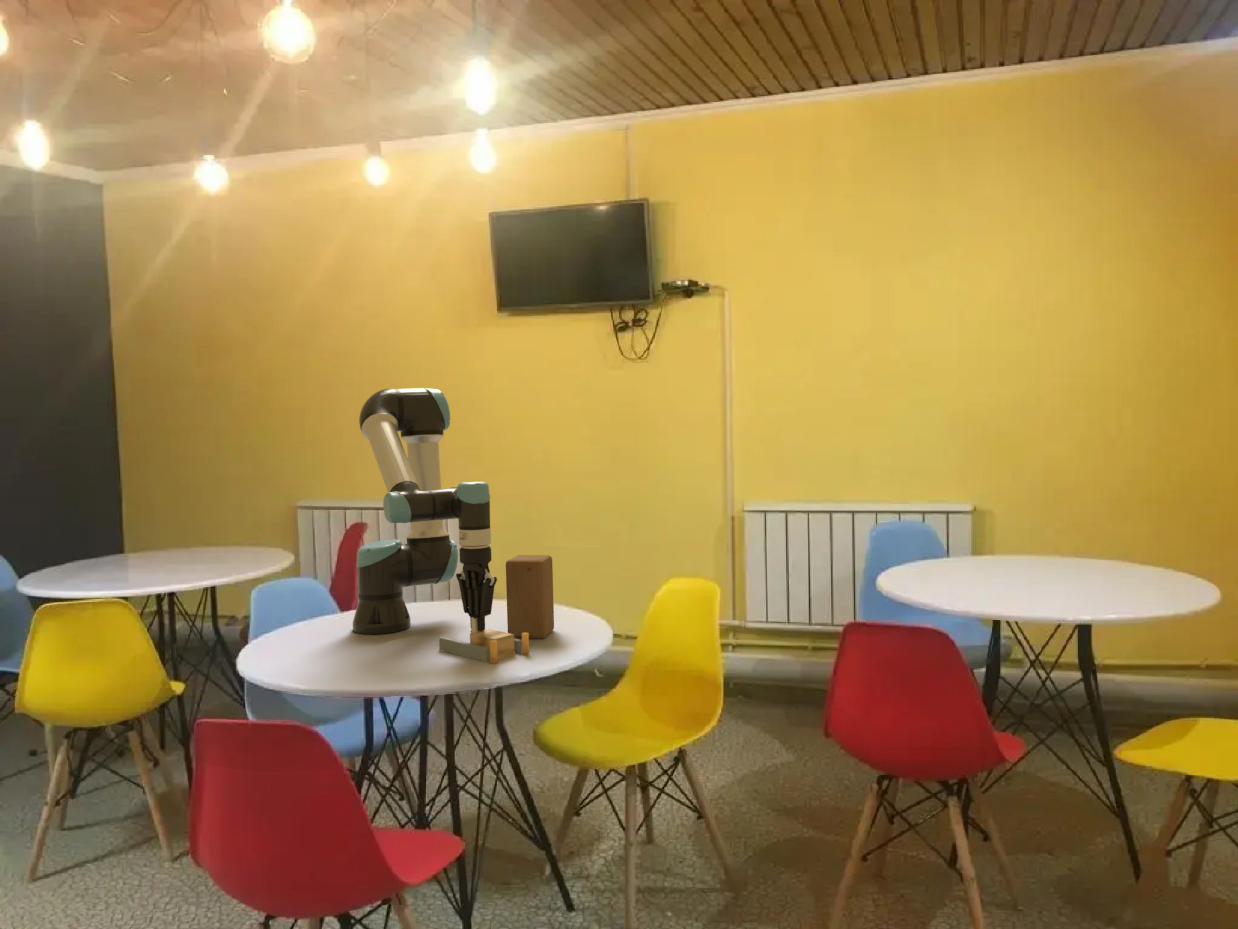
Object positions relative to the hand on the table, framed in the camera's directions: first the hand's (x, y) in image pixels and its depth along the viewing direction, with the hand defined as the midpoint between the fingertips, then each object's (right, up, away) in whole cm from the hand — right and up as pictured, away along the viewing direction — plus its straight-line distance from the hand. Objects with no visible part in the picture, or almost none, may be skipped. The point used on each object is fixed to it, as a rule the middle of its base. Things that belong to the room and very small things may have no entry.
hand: (478, 643), depth 221 cm
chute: (+2, -2, -1) cm, 3 cm away
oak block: (+4, -2, -3) cm, 6 cm away
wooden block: (+11, -1, +16) cm, 19 cm away
